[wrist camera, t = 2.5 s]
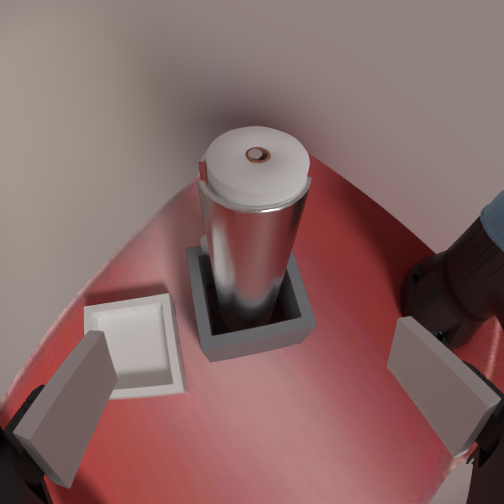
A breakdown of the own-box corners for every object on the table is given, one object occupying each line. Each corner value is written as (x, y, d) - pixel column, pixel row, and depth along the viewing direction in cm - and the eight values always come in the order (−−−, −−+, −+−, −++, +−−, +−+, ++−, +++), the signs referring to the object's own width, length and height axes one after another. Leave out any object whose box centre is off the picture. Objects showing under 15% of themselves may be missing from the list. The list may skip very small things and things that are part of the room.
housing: (276, 261, 40) (286, 219, 32) (300, 342, 34) (320, 320, 26) (195, 276, 38) (183, 237, 30) (210, 362, 32) (199, 346, 24)
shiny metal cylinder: (234, 280, 38) (229, 111, 17) (279, 299, 37) (328, 140, 15) (211, 321, 35) (169, 173, 14) (258, 343, 34) (292, 218, 12)
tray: (174, 301, 36) (168, 293, 34) (188, 392, 30) (183, 391, 28) (93, 314, 34) (84, 306, 32) (100, 400, 29) (89, 398, 26)
